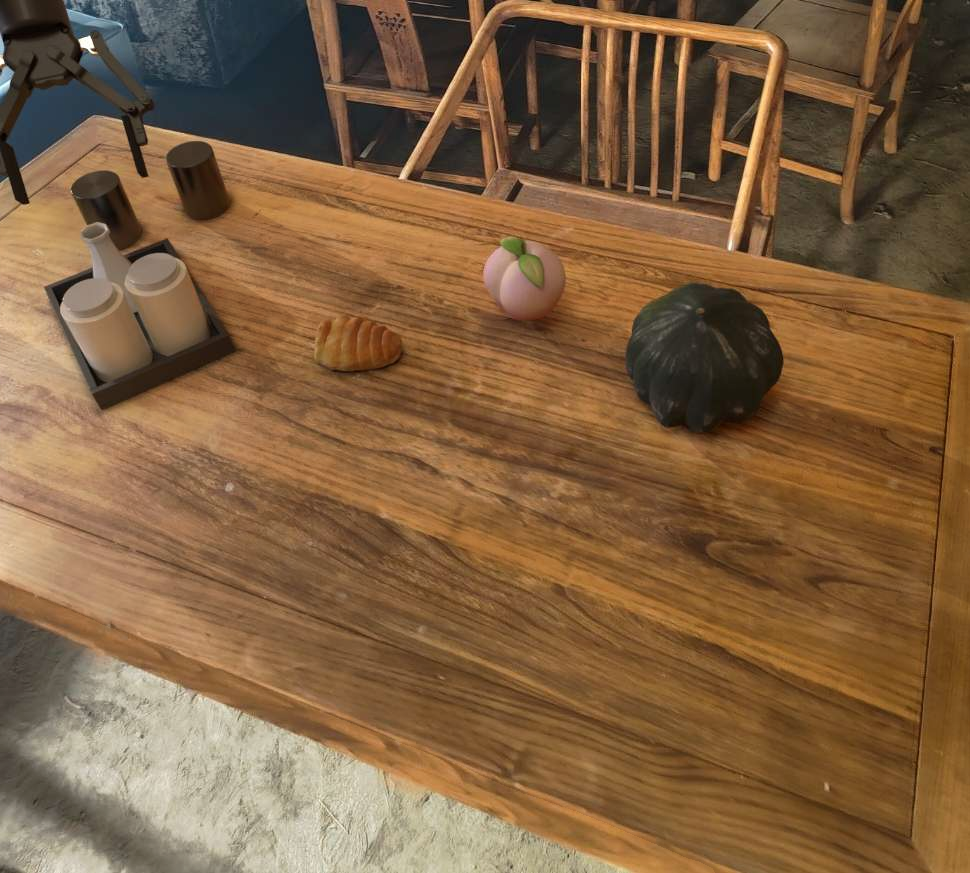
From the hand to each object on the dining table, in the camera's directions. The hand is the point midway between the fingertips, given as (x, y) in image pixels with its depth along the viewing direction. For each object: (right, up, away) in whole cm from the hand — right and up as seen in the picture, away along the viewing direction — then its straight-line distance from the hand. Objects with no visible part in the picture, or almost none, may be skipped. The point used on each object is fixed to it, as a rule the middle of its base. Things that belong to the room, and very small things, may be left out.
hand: (83, 188), depth 106 cm
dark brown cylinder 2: (+9, +2, +17) cm, 20 cm away
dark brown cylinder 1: (-2, -2, +15) cm, 15 cm away
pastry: (+32, -19, -3) cm, 37 cm away
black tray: (+6, -16, +3) cm, 17 cm away
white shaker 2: (+11, -17, 0) cm, 20 cm away
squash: (+68, -25, -11) cm, 73 cm away
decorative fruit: (+51, -15, -1) cm, 53 cm away
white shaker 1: (+5, -20, -2) cm, 21 cm away
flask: (+3, -12, +5) cm, 13 cm away
